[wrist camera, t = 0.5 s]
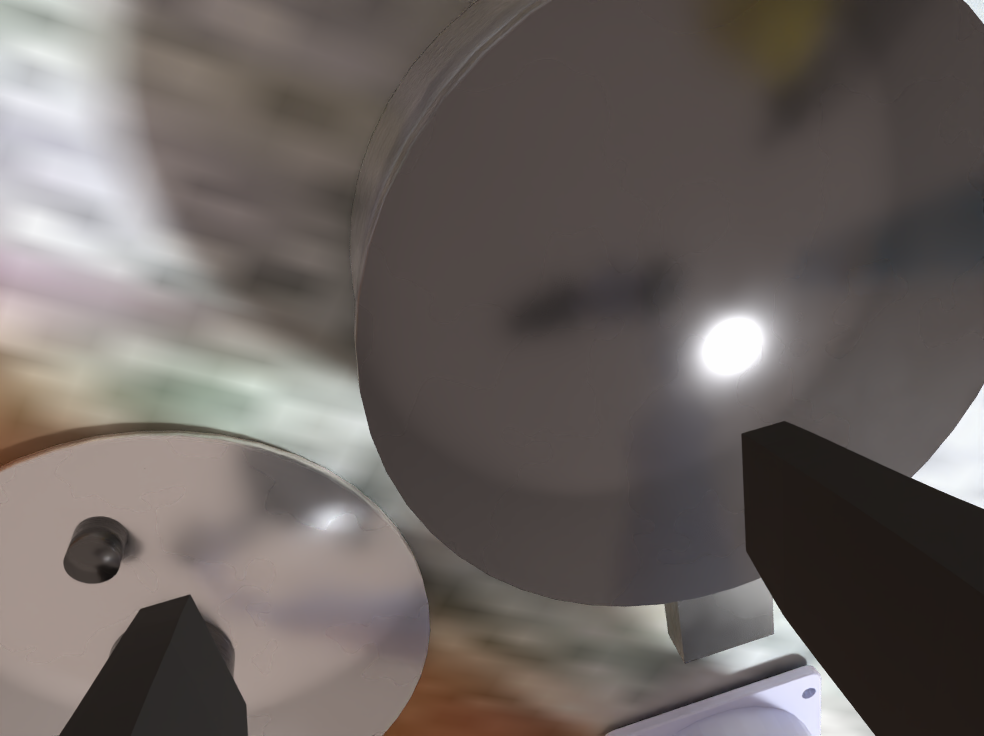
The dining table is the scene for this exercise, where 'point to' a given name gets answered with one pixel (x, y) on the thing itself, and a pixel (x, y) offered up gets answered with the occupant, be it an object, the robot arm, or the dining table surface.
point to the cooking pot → (665, 277)
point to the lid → (206, 579)
